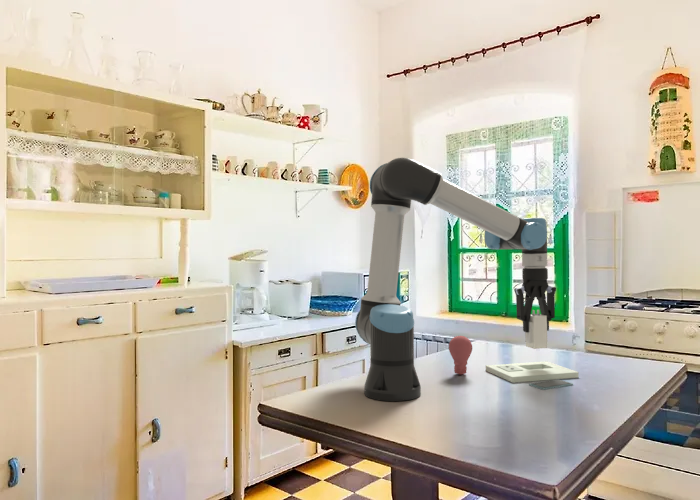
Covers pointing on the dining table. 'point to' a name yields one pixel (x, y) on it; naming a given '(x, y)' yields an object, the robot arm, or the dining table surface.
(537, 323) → the charger
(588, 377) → the dining table surface
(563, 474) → the dining table surface
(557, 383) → the phone
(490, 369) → the outlet plate
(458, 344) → the light bulb
